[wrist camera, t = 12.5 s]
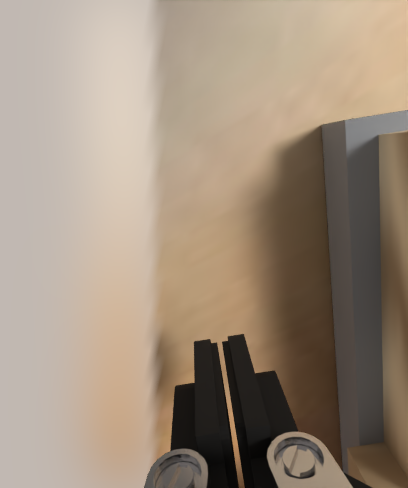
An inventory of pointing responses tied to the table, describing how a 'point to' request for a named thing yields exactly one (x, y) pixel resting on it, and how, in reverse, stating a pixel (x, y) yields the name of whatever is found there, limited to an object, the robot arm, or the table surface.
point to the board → (357, 270)
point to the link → (391, 324)
